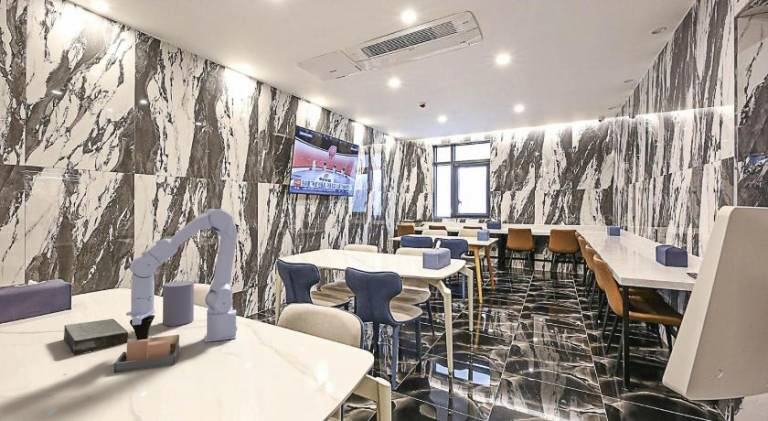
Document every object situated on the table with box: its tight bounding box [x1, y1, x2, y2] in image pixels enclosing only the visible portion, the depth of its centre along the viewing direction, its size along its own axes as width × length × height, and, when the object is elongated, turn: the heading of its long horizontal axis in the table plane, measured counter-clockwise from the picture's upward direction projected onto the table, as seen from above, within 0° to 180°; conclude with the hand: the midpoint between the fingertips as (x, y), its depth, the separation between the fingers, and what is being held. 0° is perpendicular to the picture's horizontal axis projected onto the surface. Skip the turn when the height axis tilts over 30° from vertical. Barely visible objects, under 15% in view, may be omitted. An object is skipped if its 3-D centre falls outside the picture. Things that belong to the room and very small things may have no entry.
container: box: [162, 280, 195, 327], centre depth 136 cm, size 10×10×15 cm
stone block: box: [63, 318, 129, 356], centre depth 116 cm, size 14×20×5 cm
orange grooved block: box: [135, 334, 180, 350], centre depth 108 cm, size 12×8×3 cm, turn 113°
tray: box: [113, 344, 180, 374], centre depth 100 cm, size 14×9×2 cm, turn 113°
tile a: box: [148, 340, 170, 359], centre depth 101 cm, size 5×5×2 cm
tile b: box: [126, 339, 150, 361], centre depth 102 cm, size 5×5×2 cm
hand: (142, 341), depth 106 cm, fingers closed
